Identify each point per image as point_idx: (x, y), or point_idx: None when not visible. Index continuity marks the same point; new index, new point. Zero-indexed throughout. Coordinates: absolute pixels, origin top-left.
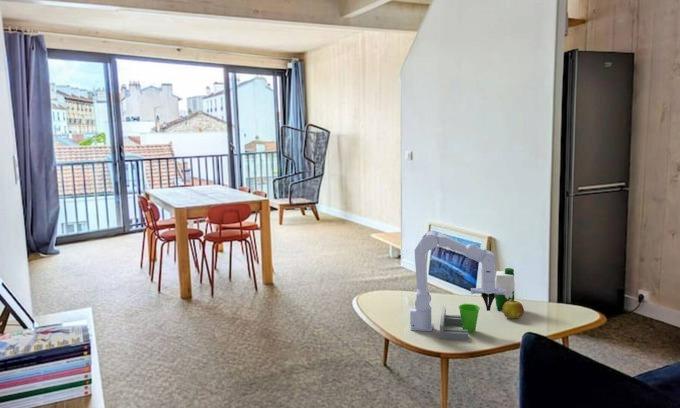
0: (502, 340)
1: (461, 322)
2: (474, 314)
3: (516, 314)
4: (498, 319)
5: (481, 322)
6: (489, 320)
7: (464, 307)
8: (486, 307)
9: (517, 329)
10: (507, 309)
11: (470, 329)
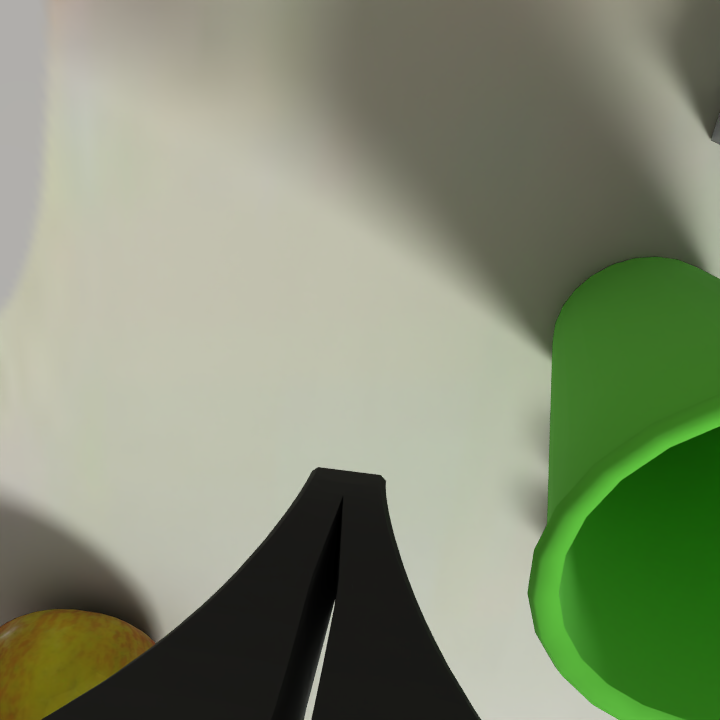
0: (216, 19)
1: None
2: (686, 370)
3: (25, 631)
4: None
5: (420, 558)
6: None
7: None
8: (387, 520)
9: (41, 388)
10: None
11: (658, 269)
